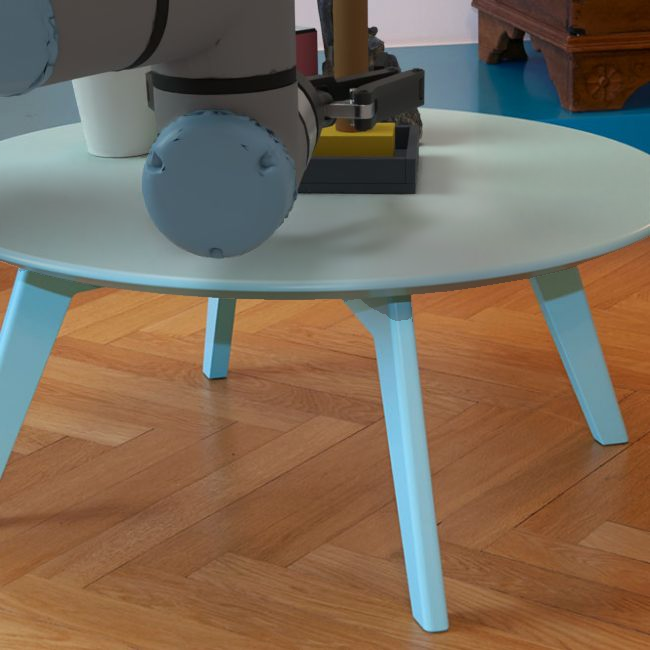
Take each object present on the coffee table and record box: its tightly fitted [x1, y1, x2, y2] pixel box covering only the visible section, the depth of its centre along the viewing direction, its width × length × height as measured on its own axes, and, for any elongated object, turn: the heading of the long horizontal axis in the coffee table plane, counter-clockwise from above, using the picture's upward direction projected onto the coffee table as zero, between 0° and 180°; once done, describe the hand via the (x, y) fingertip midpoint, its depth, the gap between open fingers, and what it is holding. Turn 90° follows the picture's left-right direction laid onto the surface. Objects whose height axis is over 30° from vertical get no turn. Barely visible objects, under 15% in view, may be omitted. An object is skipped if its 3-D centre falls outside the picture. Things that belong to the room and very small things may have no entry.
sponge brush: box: [311, 0, 395, 157], centre depth 94 cm, size 7×5×14 cm
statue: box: [316, 0, 423, 140], centre depth 106 cm, size 6×12×15 cm, turn 50°
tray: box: [297, 125, 420, 194], centre depth 96 cm, size 18×13×3 cm
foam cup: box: [71, 65, 157, 158], centre depth 104 cm, size 10×9×13 cm
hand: (296, 70), depth 89 cm, fingers open, 13 cm apart
